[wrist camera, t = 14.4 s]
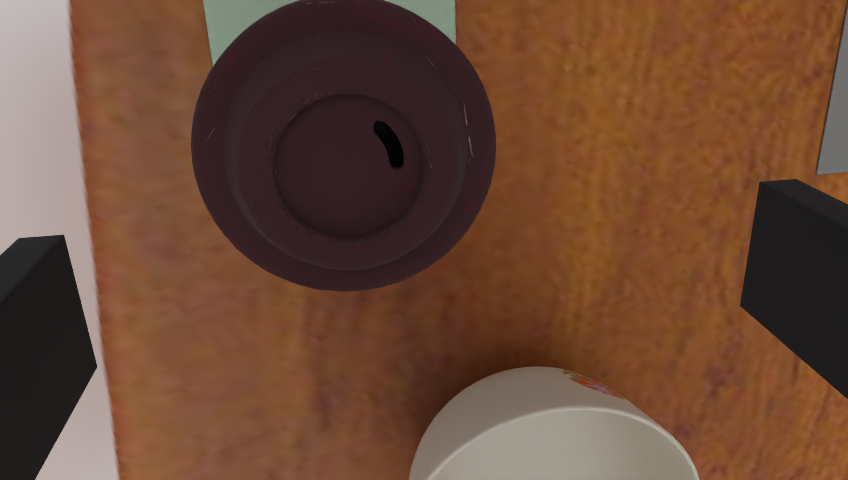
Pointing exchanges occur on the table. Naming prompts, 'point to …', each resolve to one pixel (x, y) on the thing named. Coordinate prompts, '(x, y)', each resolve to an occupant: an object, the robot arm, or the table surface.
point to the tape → (837, 115)
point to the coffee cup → (343, 143)
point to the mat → (246, 3)
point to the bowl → (546, 433)
